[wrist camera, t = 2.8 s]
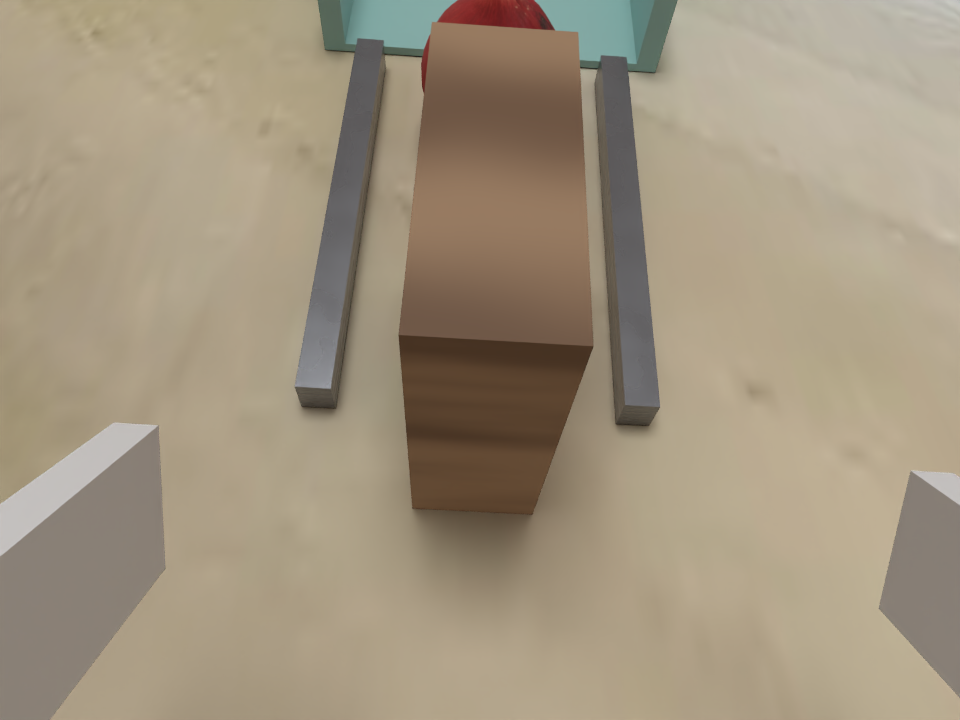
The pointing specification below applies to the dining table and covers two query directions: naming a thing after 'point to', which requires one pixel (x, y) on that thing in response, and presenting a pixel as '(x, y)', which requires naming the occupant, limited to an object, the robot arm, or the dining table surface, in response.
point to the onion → (492, 18)
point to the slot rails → (621, 238)
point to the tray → (567, 3)
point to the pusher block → (495, 267)
